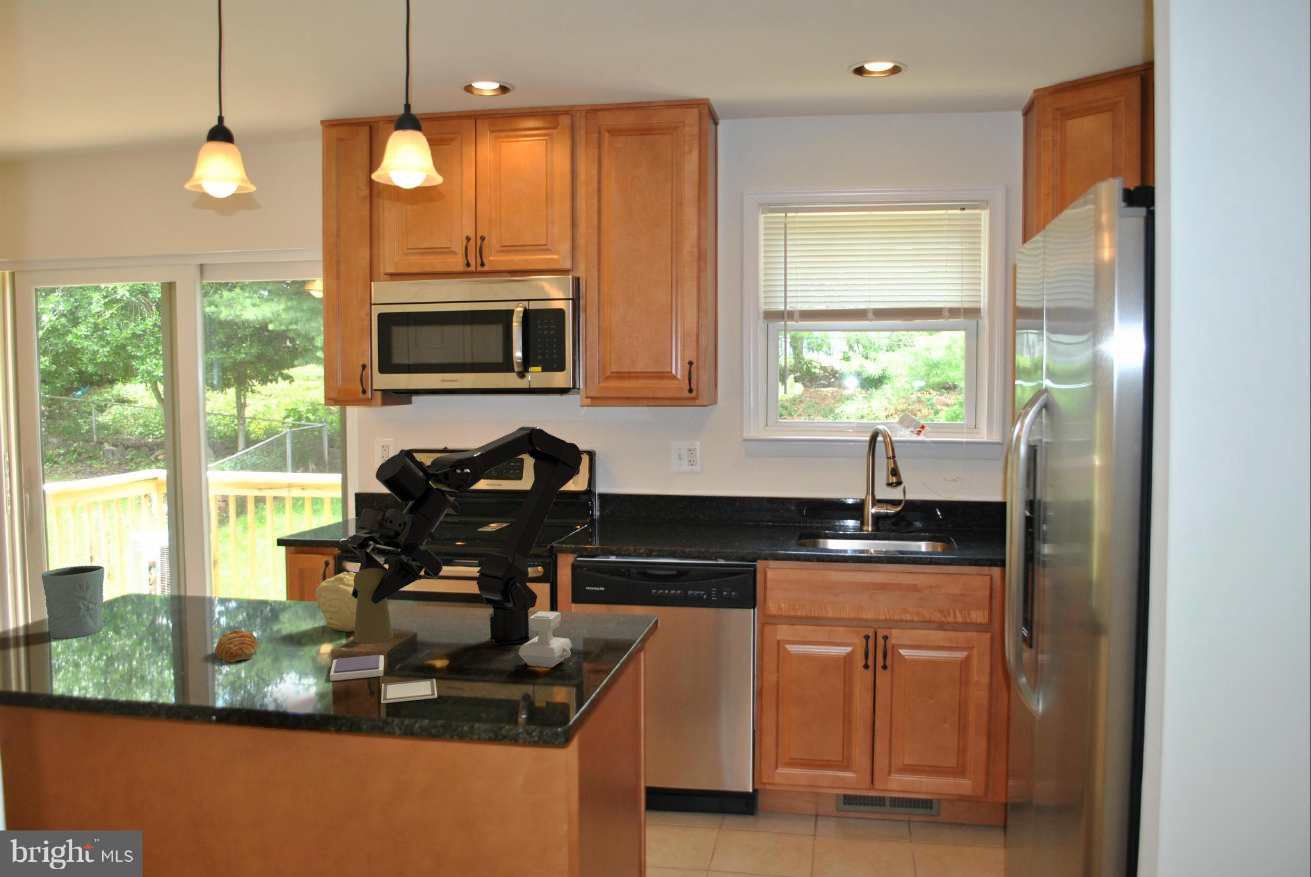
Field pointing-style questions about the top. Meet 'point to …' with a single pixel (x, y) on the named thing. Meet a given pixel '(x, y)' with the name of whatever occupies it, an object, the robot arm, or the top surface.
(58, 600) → the grey cup
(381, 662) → the ink pad
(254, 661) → the top surface
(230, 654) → the pastry
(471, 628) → the top surface
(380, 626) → the brown peg figure
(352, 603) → the sculpture
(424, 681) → the white flat square piece
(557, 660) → the stamp
